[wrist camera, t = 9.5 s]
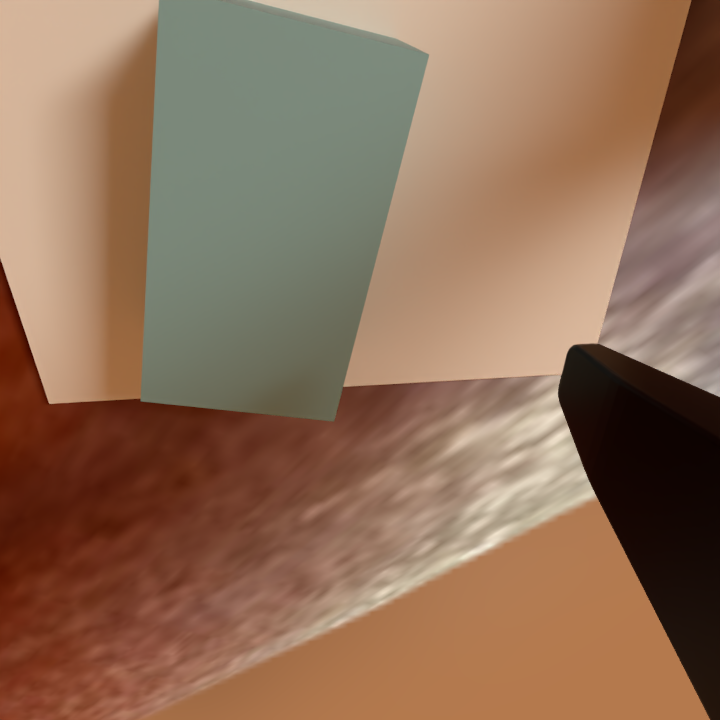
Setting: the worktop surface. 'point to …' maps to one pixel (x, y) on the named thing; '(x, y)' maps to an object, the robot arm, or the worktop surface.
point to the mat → (409, 201)
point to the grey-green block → (267, 202)
